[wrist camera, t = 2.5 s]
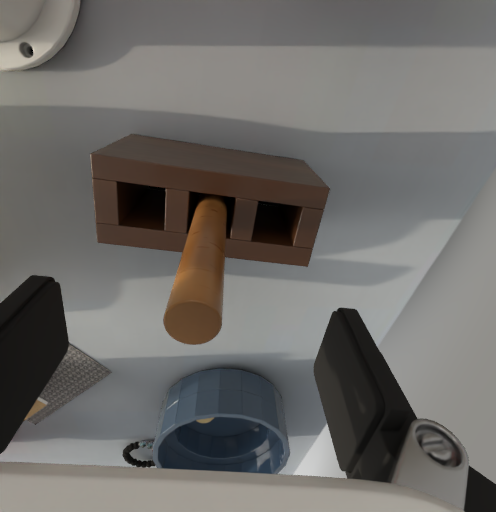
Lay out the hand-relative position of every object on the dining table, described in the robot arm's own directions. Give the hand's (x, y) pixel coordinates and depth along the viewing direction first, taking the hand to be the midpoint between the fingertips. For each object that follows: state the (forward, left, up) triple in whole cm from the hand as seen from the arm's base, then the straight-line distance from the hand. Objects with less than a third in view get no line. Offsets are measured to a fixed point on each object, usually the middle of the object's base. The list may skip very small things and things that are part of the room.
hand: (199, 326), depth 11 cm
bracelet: (-6, -40, -18) cm, 44 cm away
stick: (0, 0, -18) cm, 18 cm away
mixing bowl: (+4, -29, -18) cm, 34 cm away
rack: (0, 0, -18) cm, 18 cm away
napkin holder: (-19, -26, -18) cm, 37 cm away
